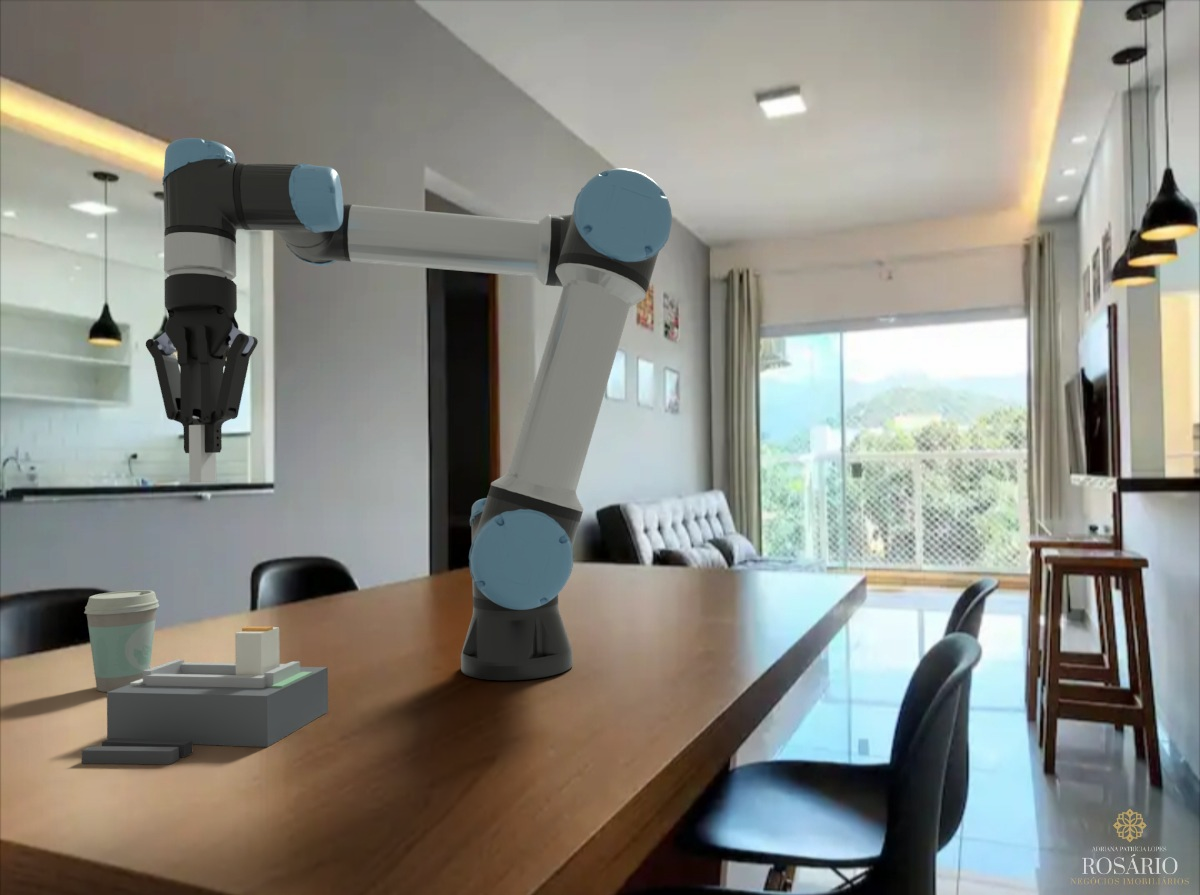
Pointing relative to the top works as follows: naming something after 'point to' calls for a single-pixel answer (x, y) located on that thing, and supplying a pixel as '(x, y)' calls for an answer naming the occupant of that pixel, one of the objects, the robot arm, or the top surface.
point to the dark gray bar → (130, 755)
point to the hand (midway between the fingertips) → (203, 481)
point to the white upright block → (257, 650)
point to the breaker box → (217, 704)
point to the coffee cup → (121, 636)
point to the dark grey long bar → (152, 744)
